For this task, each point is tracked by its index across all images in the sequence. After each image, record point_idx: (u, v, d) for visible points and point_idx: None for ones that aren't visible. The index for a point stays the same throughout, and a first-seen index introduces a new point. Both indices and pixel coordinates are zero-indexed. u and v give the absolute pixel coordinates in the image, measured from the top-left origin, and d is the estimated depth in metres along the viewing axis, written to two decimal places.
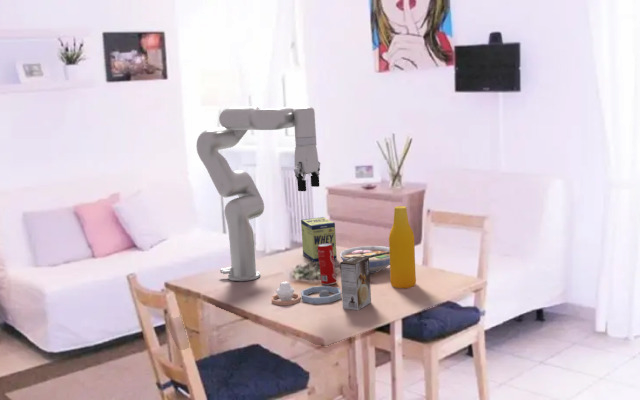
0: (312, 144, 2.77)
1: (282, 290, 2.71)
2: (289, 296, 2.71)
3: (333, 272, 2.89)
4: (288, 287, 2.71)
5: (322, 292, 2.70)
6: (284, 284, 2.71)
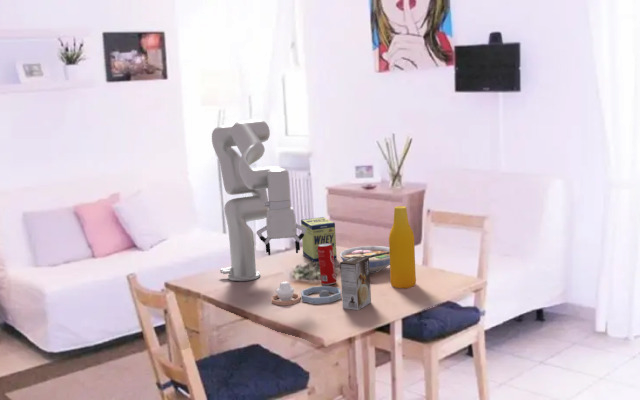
0: None
1: (282, 290, 2.71)
2: (289, 296, 2.71)
3: (333, 272, 2.89)
4: (288, 287, 2.71)
5: (322, 292, 2.70)
6: (284, 284, 2.71)
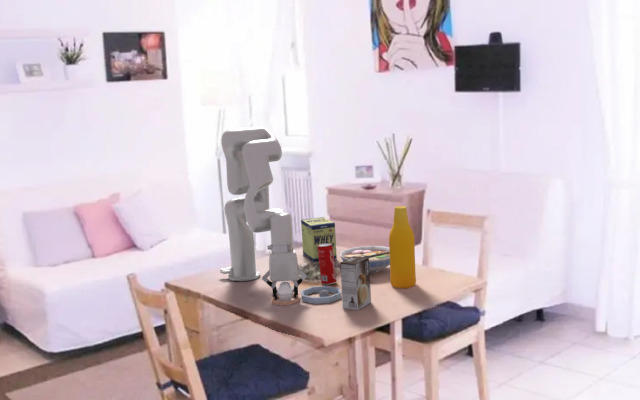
0: None
1: (282, 290, 2.71)
2: (289, 296, 2.71)
3: (333, 272, 2.89)
4: (288, 287, 2.71)
5: (322, 292, 2.70)
6: (284, 284, 2.71)
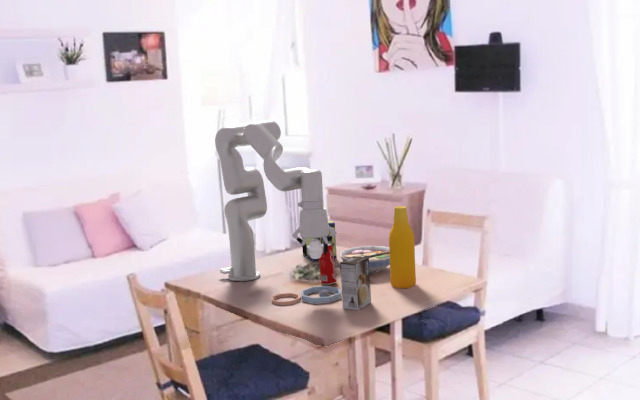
0: None
1: (312, 247, 2.72)
2: (319, 253, 2.73)
3: (333, 272, 2.89)
4: (318, 244, 2.73)
5: (322, 292, 2.70)
6: (314, 241, 2.73)
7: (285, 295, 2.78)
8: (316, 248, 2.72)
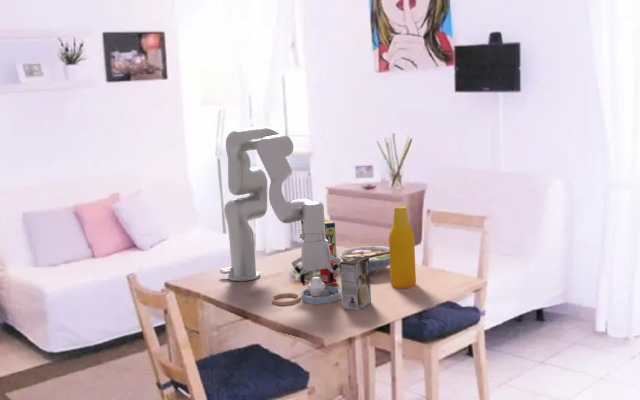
0: None
1: (314, 285, 2.75)
2: (320, 291, 2.75)
3: (333, 272, 2.89)
4: (319, 282, 2.75)
5: (322, 292, 2.70)
6: (315, 279, 2.75)
7: (285, 295, 2.78)
8: (317, 286, 2.74)
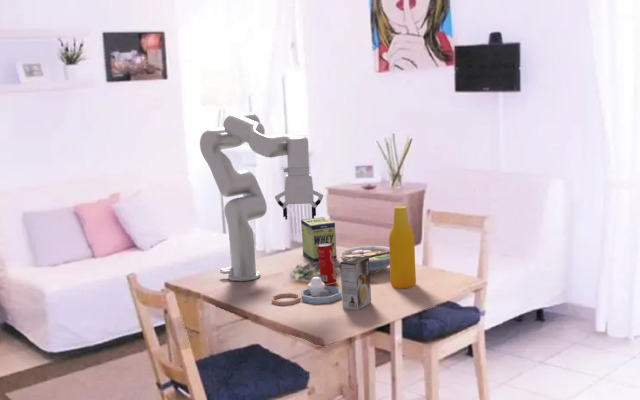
0: None
1: (314, 285, 2.75)
2: (320, 291, 2.75)
3: (333, 272, 2.89)
4: (319, 282, 2.75)
5: (322, 292, 2.70)
6: (315, 279, 2.75)
7: (285, 295, 2.78)
8: (317, 286, 2.74)
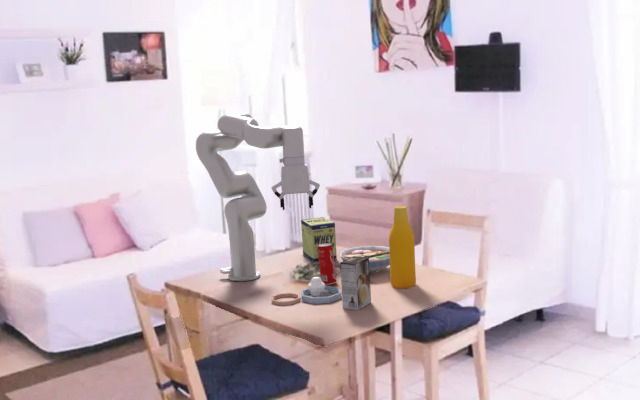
0: None
1: (314, 285, 2.75)
2: (320, 291, 2.75)
3: (333, 272, 2.89)
4: (319, 282, 2.75)
5: (322, 292, 2.70)
6: (315, 279, 2.75)
7: (285, 295, 2.78)
8: (317, 286, 2.74)
